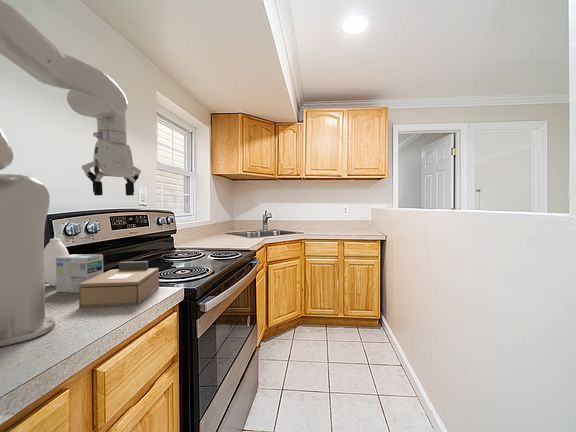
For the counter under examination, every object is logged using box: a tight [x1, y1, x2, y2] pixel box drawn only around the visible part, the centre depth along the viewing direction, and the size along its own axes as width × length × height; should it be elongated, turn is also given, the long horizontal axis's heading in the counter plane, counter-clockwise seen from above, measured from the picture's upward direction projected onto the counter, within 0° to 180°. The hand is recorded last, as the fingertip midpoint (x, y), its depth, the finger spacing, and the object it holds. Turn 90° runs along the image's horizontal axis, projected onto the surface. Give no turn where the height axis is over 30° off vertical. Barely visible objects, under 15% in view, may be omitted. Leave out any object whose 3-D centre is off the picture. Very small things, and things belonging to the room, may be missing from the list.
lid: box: [79, 260, 160, 287], centre depth 83 cm, size 18×14×3 cm
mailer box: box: [78, 271, 160, 309], centre depth 83 cm, size 18×14×5 cm
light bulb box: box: [55, 253, 104, 294], centre depth 90 cm, size 11×7×11 cm, turn 84°
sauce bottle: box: [44, 230, 70, 287], centre depth 95 cm, size 8×8×18 cm
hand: (114, 195), depth 90 cm, fingers open, 9 cm apart
